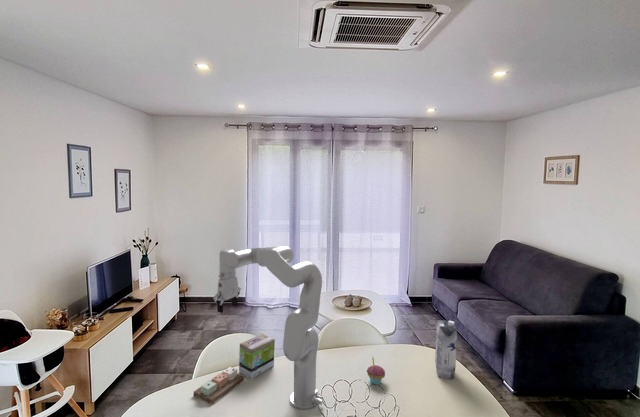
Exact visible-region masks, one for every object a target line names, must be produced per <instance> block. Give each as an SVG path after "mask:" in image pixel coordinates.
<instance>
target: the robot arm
mask: <svg viewBox="0 0 640 417" xmlns="http://www.w3.org/2000/svg"><path fill="white" fill-rule="evenodd" d="M218 255H219V274H218V278H219V279H218V281H217V290H216V291H217V292H216V294H215V295H214V296H213V298H212V299H213V300H214V303H215V304H216V306H217V309H216V310H217V313H221V314H223V313H224V304H223V303H224V301H228V300H230V299H231V306H233V307H238V299H239V295H240V292H241V289H242V288H241V287H239V282H238V278H237V274H236V269H237V268H238V269H239V268H242V267H245V266H249V265H252V264H253V265H254V264H258V265H259V266H260V267H262V268H263V267H265V268H267V270H268V271H269V273H271V274H272V275H273V276H274V277H276V278H277V279H278V280H279V281H280V282H281V283H282V284H283V286H286V287H287V288H296V287H298V286H301V285H303V287H302V289H301V291H300V296H299V303H298V307H297V308H296V309H294V310H293V311H291V312H290V313H289V314H288V315H287V317H286V320H285V323H284V330H283V343H282V350H283V354H284V356H285V358H286V359H287V360H289V361H291V362H293V392H291V394H290V396H289V402H290V405H292V406H293V407H294V408H296V409H299V410H308V409H312V408H314V407H316V406H317V405H320V406H322V405H323V403H324V395H320V394H319V390H318V389H316V388H317V387H316V386H317V385H316V384H317V380H316V379H317V355H318V354H317V353H318V347H319V341H320V339H319V334H318V332H317V331H316V330H315V328H313V327H314V326H316V324H318V320H319V316H320V315H319V314H320V304H321V294H322V287H323V277H322V276H323V275H322V273H321V271H320V269H319V268H318V266H317V265H316V264H315V263H314V262H312V261H306V260H305V261H301V262H299V263H296V264H294V265H291V264H290V263H292V261H293V259H294V252H293V249H291V248H290V247H289V246H286V245H279V246H269V247H268V246H267V247H255V248H254V247H253V248H246V249H242V250H241V249H240V250H237V251H236V250H235V249H232V248H224V249H221V250H220V251H219V254H218Z"/></svg>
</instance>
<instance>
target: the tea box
mask: <svg viewBox="0 0 640 417" xmlns="http://www.w3.org/2000/svg"><path fill="white" fill-rule="evenodd" d="M275 341H276V339H274V338H272V337H270V336H268V335H266V334H264V333H261V334H259V335H256V336H254V337H252V338H250V339H247V340H245V341H243V342H239V352H238V353H239V354H238V355H239V357H238V362H239V363H238V372H239V374H240V373H241V375H242V374H243V376H245V377H247V378H249V379H251V380H252V379H254V378H256V377H257V376H258V375H261V374H262V373H265V372H266V371H268V370H270V369H272V368H273V367H275ZM271 367H272V368H271Z"/></svg>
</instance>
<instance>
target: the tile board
mask: <svg viewBox="0 0 640 417" xmlns="http://www.w3.org/2000/svg"><path fill="white" fill-rule="evenodd" d="M220 374H223V372H221V373H220ZM209 381H211V382H212V379H210V380H209ZM244 381H245V375H242V374H240V373H237V376H236V377H235V378H233V379H232V380H228V379H227V383H226V384H225V385H223V386H222V387H220V388H219V387H217V390H216V391H215V392H213V393H212V394H210V395H209V396H207V395H205V394H203V393H201V386H200V387H199V388H197V389H195V390H194V391H193V397H194V398H197V399H199V400H201V401H203V402H206V403H207V404H209V405H213V404H214V403H216V402H217V401H219V400H220V399H221V398H223V397H224V396H225V395H227V394H228V393H230V392H231V391H232V390H233V389H235V388H236V387H237V386H239V385H240V384H242V383H243V382H244Z"/></svg>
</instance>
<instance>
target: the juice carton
mask: <svg viewBox="0 0 640 417" xmlns="http://www.w3.org/2000/svg"><path fill="white" fill-rule="evenodd" d="M435 333H436V334H435V356H434V363H435V369H436V374H437V377H439V378H444V379H450V380H453V379H454V378H455V374H456V364H457V363H456V362H457V360H456V359H457V344H458V332H457V327H456V326H455V321H452V320H445V319H444V320H443V319H438V320H437V324H436V332H435Z"/></svg>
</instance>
